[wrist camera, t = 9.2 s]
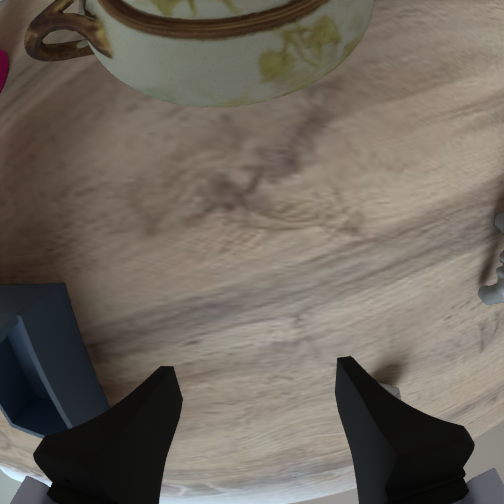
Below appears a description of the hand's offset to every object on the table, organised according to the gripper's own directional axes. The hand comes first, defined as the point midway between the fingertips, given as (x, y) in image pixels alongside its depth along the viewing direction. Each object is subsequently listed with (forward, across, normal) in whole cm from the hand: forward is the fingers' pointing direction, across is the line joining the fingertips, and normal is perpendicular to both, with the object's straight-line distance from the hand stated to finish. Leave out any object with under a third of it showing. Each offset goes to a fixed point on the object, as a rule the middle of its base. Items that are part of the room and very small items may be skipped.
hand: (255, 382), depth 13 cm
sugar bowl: (+10, 0, -19) cm, 22 cm away
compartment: (+10, +22, +6) cm, 25 cm away
